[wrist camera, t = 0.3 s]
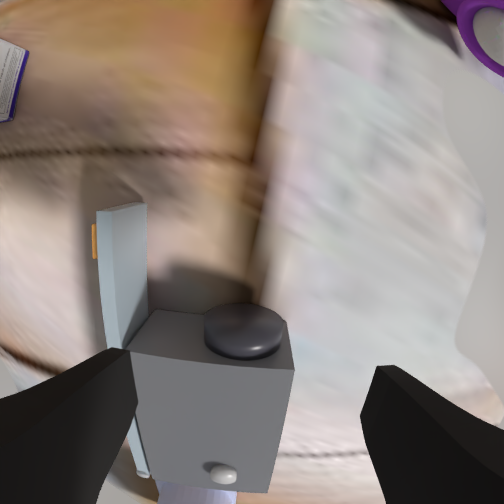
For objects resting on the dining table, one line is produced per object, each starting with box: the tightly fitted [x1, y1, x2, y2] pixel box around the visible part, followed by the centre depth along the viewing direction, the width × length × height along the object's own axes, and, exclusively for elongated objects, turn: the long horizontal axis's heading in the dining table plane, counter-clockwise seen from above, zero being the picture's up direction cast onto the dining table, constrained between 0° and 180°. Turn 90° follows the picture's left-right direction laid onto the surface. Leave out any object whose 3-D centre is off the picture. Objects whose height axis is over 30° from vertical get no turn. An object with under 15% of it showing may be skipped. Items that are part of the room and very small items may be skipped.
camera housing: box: [126, 303, 295, 493], centre depth 16 cm, size 13×8×6 cm, turn 176°
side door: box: [92, 202, 151, 478], centre depth 16 cm, size 18×1×4 cm, turn 176°
